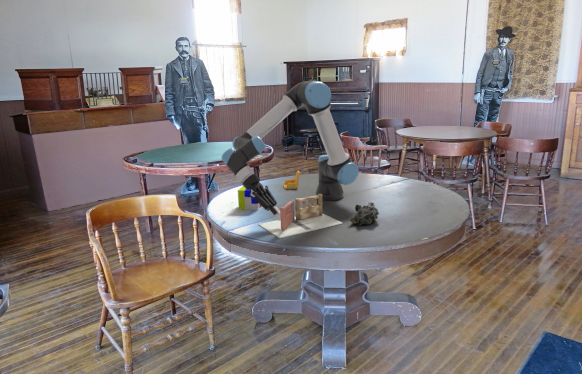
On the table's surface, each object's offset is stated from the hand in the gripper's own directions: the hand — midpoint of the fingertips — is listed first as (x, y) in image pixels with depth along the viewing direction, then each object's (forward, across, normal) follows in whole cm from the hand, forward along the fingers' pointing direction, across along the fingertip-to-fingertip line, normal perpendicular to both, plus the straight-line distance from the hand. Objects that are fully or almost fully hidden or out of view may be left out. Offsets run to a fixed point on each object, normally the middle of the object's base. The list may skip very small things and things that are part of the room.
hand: (282, 218), depth 194 cm
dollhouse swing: (-16, -65, -22) cm, 71 cm away
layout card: (+7, -7, +1) cm, 10 cm away
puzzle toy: (-17, -22, -24) cm, 36 cm away
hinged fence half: (+3, -2, -1) cm, 4 cm away
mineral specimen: (+24, -21, +19) cm, 37 cm away
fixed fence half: (+7, -16, +2) cm, 17 cm away
